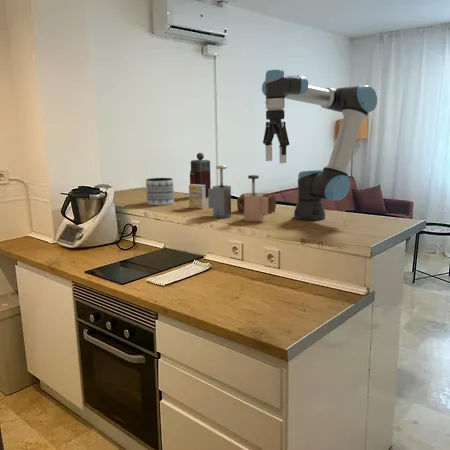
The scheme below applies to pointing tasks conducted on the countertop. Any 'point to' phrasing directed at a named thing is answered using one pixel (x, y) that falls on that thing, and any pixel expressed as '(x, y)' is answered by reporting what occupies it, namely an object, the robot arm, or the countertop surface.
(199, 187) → the supplement box
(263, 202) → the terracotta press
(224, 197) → the faceted cylinder
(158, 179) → the planter
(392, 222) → the countertop surface
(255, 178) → the glossy charcoal round knob
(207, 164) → the dark red french press
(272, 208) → the bread
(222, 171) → the steel plunger
